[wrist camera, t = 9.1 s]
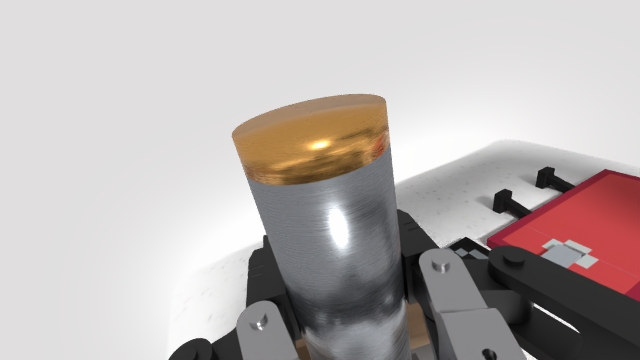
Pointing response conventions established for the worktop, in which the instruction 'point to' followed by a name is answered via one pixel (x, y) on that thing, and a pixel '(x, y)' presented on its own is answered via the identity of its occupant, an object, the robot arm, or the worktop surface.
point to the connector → (332, 221)
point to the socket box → (417, 335)
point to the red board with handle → (577, 229)
